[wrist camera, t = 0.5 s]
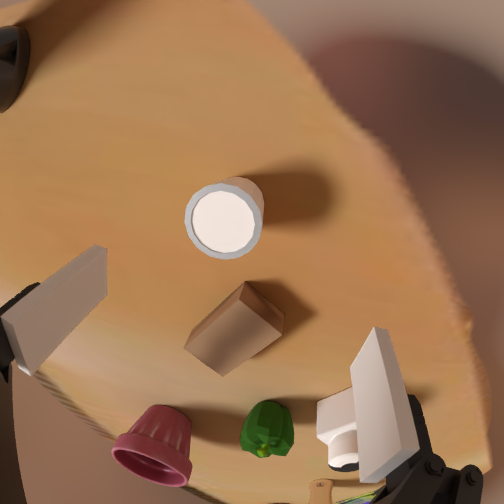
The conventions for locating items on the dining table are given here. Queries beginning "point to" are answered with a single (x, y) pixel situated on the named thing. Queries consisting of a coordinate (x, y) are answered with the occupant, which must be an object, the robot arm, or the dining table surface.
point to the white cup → (226, 217)
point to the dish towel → (359, 499)
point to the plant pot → (157, 447)
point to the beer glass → (321, 491)
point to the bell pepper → (268, 430)
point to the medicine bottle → (339, 430)
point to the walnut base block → (236, 330)
